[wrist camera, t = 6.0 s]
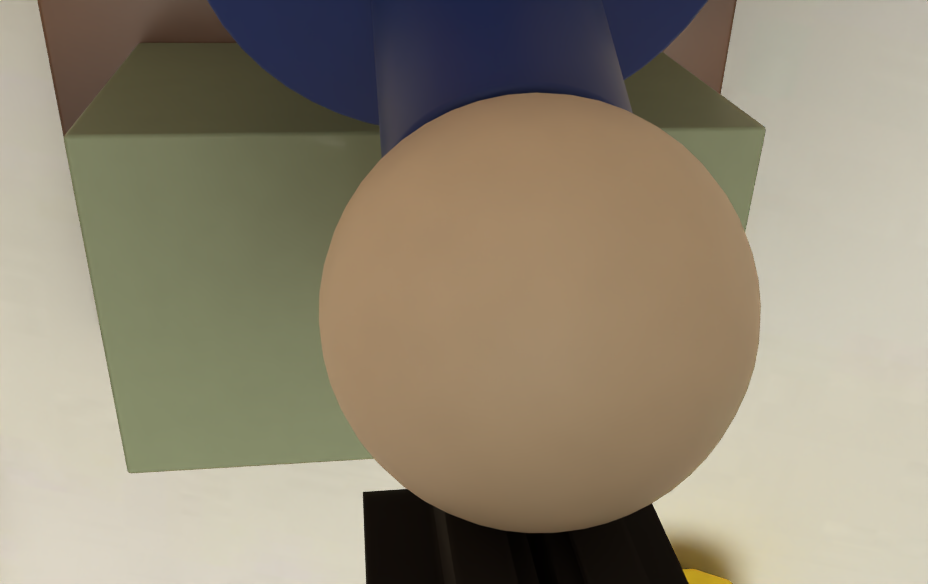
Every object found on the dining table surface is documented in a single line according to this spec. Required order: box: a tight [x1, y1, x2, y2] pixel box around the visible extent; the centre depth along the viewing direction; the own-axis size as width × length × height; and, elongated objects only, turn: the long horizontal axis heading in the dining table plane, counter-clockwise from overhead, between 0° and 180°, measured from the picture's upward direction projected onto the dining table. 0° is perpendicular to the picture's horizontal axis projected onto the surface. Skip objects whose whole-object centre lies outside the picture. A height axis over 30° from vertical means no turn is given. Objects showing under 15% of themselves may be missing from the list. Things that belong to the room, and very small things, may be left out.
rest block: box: [64, 43, 765, 473], centre depth 19 cm, size 7×12×6 cm, turn 88°
